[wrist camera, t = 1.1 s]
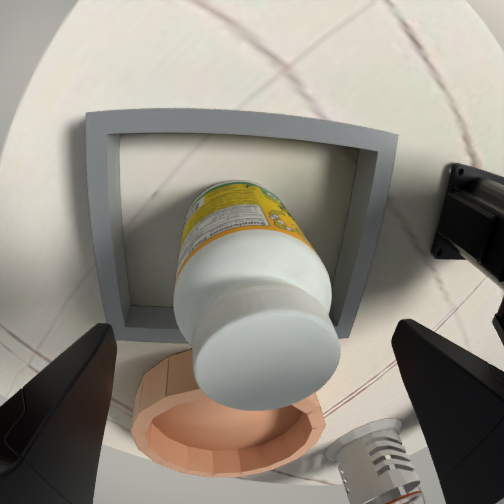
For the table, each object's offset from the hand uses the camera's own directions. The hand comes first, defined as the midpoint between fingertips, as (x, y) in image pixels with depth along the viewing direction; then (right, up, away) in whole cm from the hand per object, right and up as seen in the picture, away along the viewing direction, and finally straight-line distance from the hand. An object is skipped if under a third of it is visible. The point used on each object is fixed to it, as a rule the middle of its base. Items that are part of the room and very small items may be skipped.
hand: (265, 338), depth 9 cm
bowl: (-2, -10, +14) cm, 17 cm away
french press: (+13, -20, +22) cm, 32 cm away
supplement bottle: (-1, +4, +8) cm, 9 cm away
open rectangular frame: (-1, +4, +7) cm, 8 cm away
